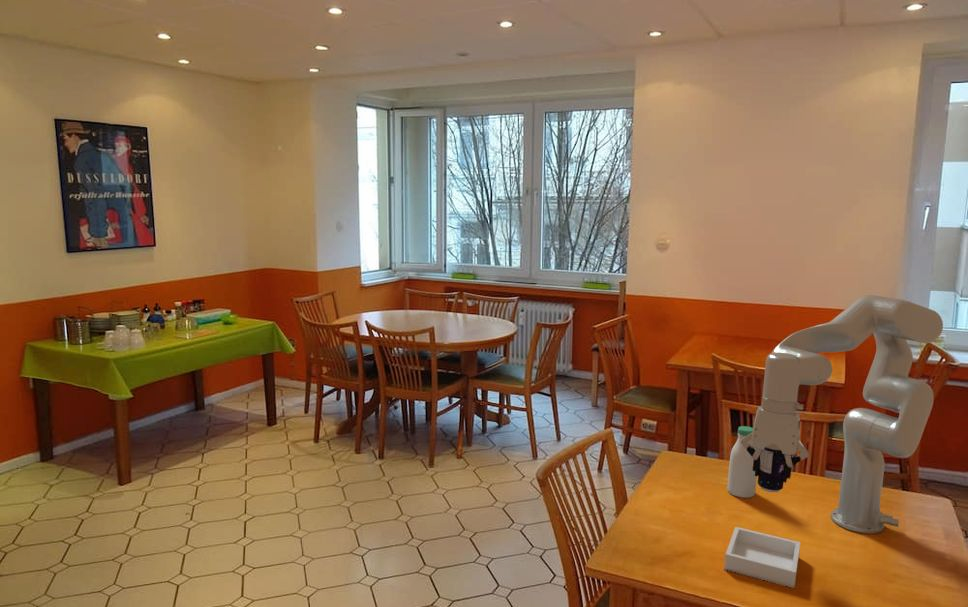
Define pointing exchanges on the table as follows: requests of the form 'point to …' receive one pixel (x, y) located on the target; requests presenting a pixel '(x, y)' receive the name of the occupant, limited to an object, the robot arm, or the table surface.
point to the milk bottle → (741, 468)
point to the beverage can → (771, 469)
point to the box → (763, 556)
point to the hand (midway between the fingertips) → (771, 476)
